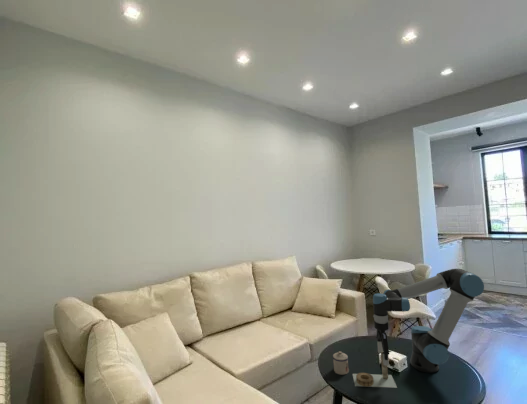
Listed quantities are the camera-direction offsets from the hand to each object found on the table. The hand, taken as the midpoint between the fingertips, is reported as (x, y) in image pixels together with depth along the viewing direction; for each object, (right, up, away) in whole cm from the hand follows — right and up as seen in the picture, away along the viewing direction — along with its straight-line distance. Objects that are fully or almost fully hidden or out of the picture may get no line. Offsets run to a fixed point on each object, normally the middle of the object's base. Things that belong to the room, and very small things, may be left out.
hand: (383, 358), depth 166 cm
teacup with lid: (-21, -13, +11) cm, 27 cm away
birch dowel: (+1, -11, 0) cm, 11 cm away
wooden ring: (-11, -11, -3) cm, 16 cm away
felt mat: (-6, -12, -2) cm, 13 cm away
